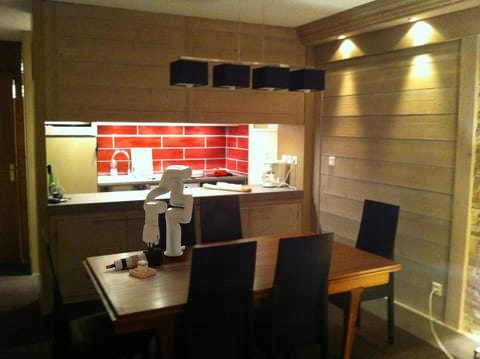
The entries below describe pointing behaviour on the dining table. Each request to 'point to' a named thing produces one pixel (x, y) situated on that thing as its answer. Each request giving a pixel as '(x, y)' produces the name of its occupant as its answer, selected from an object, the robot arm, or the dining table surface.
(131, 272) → the dish
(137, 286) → the dining table surface
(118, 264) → the striped tapered cylinder
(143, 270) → the block
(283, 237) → the dining table surface
